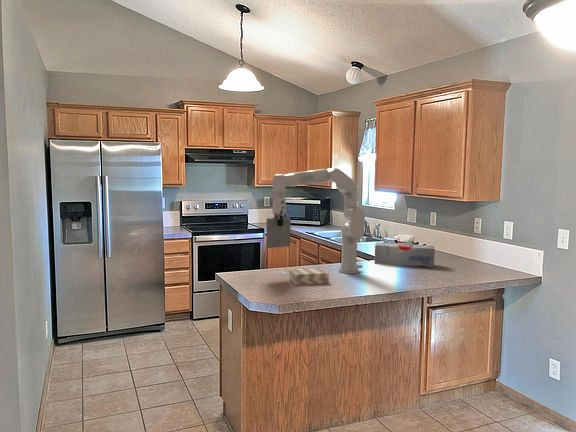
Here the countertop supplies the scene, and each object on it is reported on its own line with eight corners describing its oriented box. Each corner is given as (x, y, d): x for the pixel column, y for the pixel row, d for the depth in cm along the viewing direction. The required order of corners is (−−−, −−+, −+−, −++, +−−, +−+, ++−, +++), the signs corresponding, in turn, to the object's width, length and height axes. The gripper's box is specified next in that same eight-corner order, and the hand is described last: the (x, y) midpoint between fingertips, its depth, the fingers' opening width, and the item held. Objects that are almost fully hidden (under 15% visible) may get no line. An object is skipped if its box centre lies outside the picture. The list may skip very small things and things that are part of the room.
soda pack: (433, 264, 335) (434, 245, 333) (434, 268, 323) (435, 248, 321) (375, 260, 345) (376, 241, 344) (373, 263, 333) (374, 244, 331)
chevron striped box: (321, 277, 287) (321, 268, 287) (328, 283, 274) (329, 273, 273) (289, 278, 283) (289, 269, 282) (295, 284, 269) (295, 274, 269)
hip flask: (267, 248, 281) (268, 214, 279) (264, 247, 285) (265, 214, 282) (291, 246, 289) (291, 213, 287) (287, 245, 292) (288, 213, 290)
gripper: (291, 195, 278) (290, 226, 280) (278, 194, 292) (277, 223, 294) (279, 196, 274) (279, 227, 276) (267, 194, 289) (266, 223, 291)
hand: (278, 225), depth 285 cm, fingers closed on hip flask, 3 cm apart
